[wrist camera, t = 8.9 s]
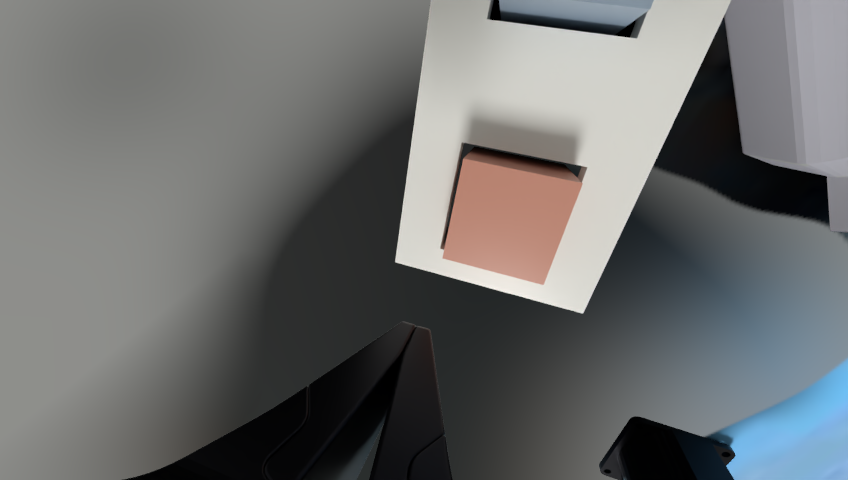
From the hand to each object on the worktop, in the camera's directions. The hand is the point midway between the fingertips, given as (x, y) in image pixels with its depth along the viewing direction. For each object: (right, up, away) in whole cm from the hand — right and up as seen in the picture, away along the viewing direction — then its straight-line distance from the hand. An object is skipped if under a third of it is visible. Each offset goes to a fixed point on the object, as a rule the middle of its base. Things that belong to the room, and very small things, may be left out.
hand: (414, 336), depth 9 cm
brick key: (+5, +5, +8) cm, 11 cm away
